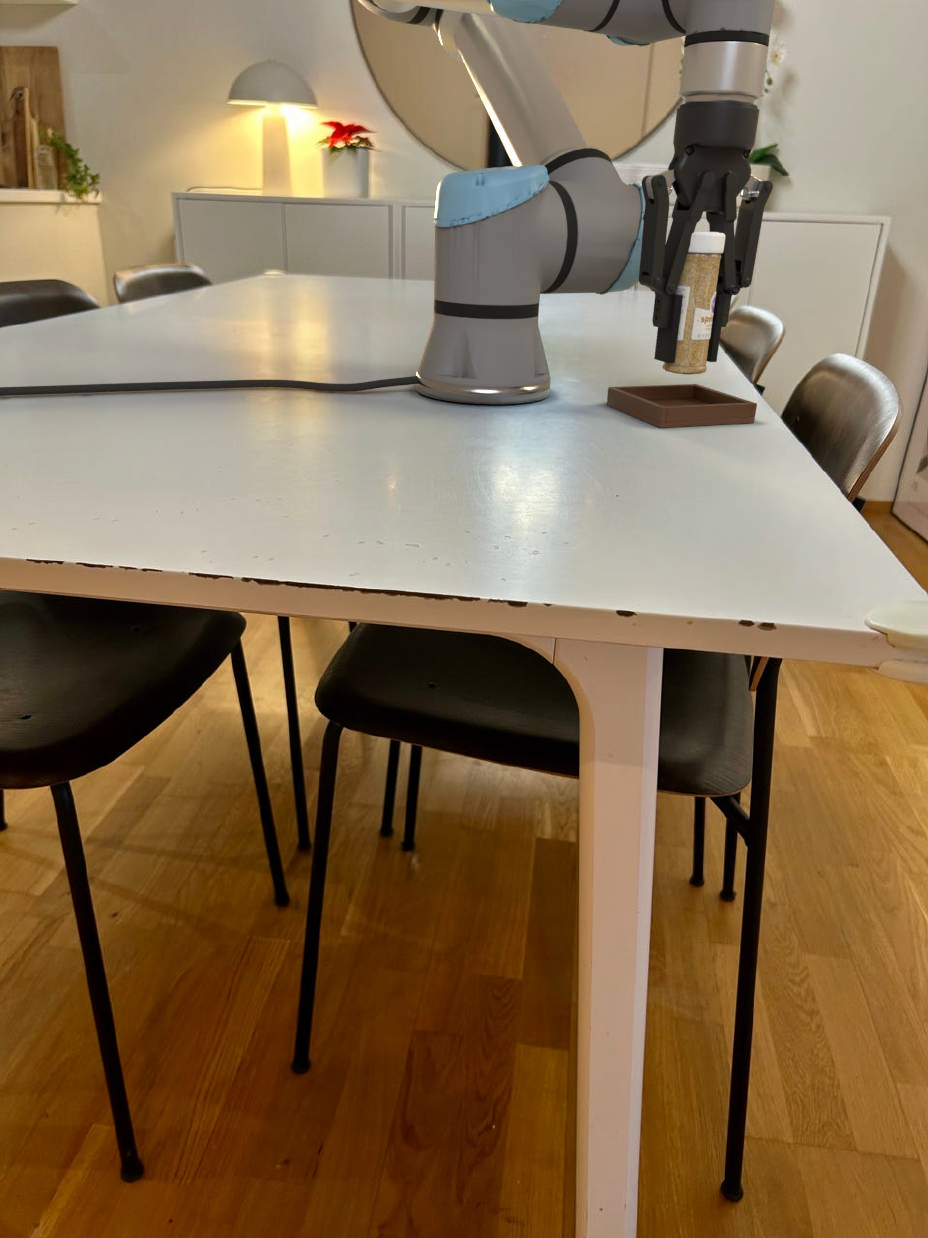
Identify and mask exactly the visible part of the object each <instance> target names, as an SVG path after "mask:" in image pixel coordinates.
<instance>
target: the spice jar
mask: <svg viewBox="0 0 928 1238" xmlns="http://www.w3.org/2000/svg"><path fill="white" fill-rule="evenodd" d="M724 244H725V234H724V233H719V232H710V231H703V230H702V231H701V230H700V231H699V230H695V231H694V233H693V234H692V236H691V242H690V247H689V250H688V254H687V257H686V260H685V264H684V267H683V270H682V273H681V277H680V280H679V283H678V287H677V290H676V292H675V293H674V294H677V295H683V299H682V307H681V315H680V323H679V331H678V339H677V347H676V355H675V363H666V362H663V364H662V369H663V370H664V371H666V372H668V373H673V374H677V375H689V376H690V375H699V374H703V373H706V372H707V370H708V366H707V362H708V361H707V354H708V346H709V339H710V336H711V328H712V321H713V314H714V306H715V298H716V287H717V281H718V273H719V265H720V259H721V254H722V253H723V251H724Z"/></svg>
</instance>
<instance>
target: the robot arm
mask: <svg viewBox="0 0 928 1238" xmlns="http://www.w3.org/2000/svg"><path fill="white" fill-rule="evenodd" d="M357 1H358V2H359V3H360V4H361V5H362V6H364V8H365V9H367V10H368V11H370V12H371V13H373V14H375V15H377V16H378V17H380V18H383V19H385V20H388V21H391V22H395V23H401V24H407V25H414V26H420V27H426V28H431V29H433V30H434V31H435V33H436V35H437V38H438V40H439V41H440V44H441V46H442V48H443V49H444V51H445V52H446V53H447V55H448V56H450V57H451V58H452V59H454V60H456V61H458V62H462V63H463V64H464V65H465V68H466V70H467V73H468V74H469V76H470V78H471V80H472V83H473V85H474V87H475V88H476V91H477V93H478V95H479V97H480V99H481V102H482V104H483V105H484V107H485V108H484V109H486V112H487V114H488V116H489V118H490V120H491V122H492V125H493V126H494V129H495V131H496V133H497V134H498V138H499V139H500V141H501V143H502V146H503V147H504V150H505V152H506V154H507V156H508V157H509V160H510V162H511V164H512V165H510V166H502V167H501V166H500V167H486V168H478V169H477V168H476V169H467V170H459V171H455V172H451V173H448V174H445V176H443V177H442V178H441V179H440V181H439V183H438V185H437V189H436V197H435V198H436V199H435V207H434V216H433V225H434V261H433V262H434V267H433V268H434V269H433V270H434V271H433V272H434V274H433V275H434V276H433V319H432V324H431V326H430V331H429V334H428V337H427V340H426V342H425V346H424V348H423V352H422V355H421V358H420V361H419V364H418V367H417V371H416V375H413V376H402V377H393V378H385V379H377V380H371V381H363V382H356V383H329V382H317V381H306V380H294V379H229V380H228V379H225V380H223V379H222V380H221V379H220V380H188V381H186V380H185V381H183V380H182V381H157V382H156V381H150V382H148V381H147V382H119V383H91V384H89V383H88V384H61V385H59V384H58V385H57V384H56V385H29V386H27V385H26V386H25V385H24V386H0V397H8V396H11V397H13V396H39V395H67V394H68V395H69V394H94V393H97V394H98V393H122V392H123V393H124V392H151V391H155V392H156V391H183V390H185V391H186V390H216V389H217V390H221V389H247V388H248V389H249V388H251V389H252V388H273V389H274V388H275V389H278V388H280V389H281V388H283V389H296V390H297V389H299V390H307V391H319V392H335V393H336V392H337V393H339V392H340V393H346V392H347V393H348V392H350V393H351V392H361V391H369V390H375V389H383V388H393V387H400V386H409V385H411V386H412V385H415V386H416V388H415V389H416V391H417V392H418V394H421V395H423V396H426V397H428V398H432V399H435V400H436V399H437V400H442V401H448V402H455V403H463V404H476V405H477V404H478V405H513V404H525V403H526V404H527V403H533V402H537V401H541V400H544V399H546V398H548V397H549V396H550V393H551V380H552V379H551V373H550V369H549V365H548V361H547V356H546V352H545V349H544V343H543V340H542V336H541V332H540V327H539V314H540V301H541V295H556V294H558V295H559V294H596V295H601V296H602V295H606V294H608V293H616V292H625V291H627V290H629V289H631V288H633V287H634V286H635V285H636V284H638V283H639V284H640V285H641V286H644V287H646V288H649V289H650V291H651V292H653V293H654V303H653V311H652V320H651V321H652V326H653V327H656V328H657V332H656V339H655V340H656V341H655V349H654V358H653V359H654V360H655V361H660V362H663V363H665V362H666V363H675V355H676V347H677V339H678V331H679V323H680V315H681V307H682V299H683V295H677V294H674V293H675V292H676V290H677V287H678V283H679V280H680V277H681V273H682V270H683V267H684V264H685V260H686V257H687V254H688V250H689V247H690V242H691V236H692V234H693V233H694V231H696V227H697V224H698V223H699V222H701V220H702V217H703V214H704V213H705V218H706V222H707V223H708V226H709V229H708V230H709V232H719V233H724V234H725V244H724V251H723V253H722V254H721V259H720V265H719V273H718V281H717V287H716V298H715V306H714V314H713V321H712V328H711V336H710V339H709V346H708V354H707V362H709V363H717V362H718V355H719V354H718V353H719V347H720V340H721V333H722V328H726V327H727V325H728V322H729V316H730V311H731V310H730V309H731V304H732V303H731V302H732V298H733V296H737V295H739V293H740V291H741V289H747V288H749V287H750V286H751V285H752V283H753V282H752V281H753V275H754V271H755V264H756V258H757V253H758V252H757V251H758V246H759V241H760V235H761V229H762V223H763V218H764V211H765V206H766V205H767V202H768V200H769V197H770V196H771V193H772V191H773V188H774V184H773V182H772V181H771V180H762V179H760V178H758V177H756V176H755V175H753V174H752V167H751V164H750V163H751V162H750V155H751V152H752V149H753V148H754V147H755V145H756V144H755V143H756V138H757V129H758V124H759V116H760V109H759V107H758V105H756V104H755V101H756V100H759V99H760V98H761V97H762V96H763V93H764V92H763V91H764V84H765V77H766V71H767V63H768V62H767V61H768V54H769V45H770V37H771V29H772V23H773V17H774V9H775V4H776V0H357ZM527 24H528V25H540V26H548V27H556V28H564V29H571V30H577V31H583V32H587V33H593V34H599V35H605V36H606V38H607V39H609V41H611V43H613V44H615V45H617V46H622V47H629V46H638V47H646V46H649V45H650V46H651V44H655V43H657V42H658V43H659V42H663V41H668V40H672V39H678V38H683V37H684V42H683V56H682V66H681V73H680V82H679V83H680V84H679V91H678V95H679V97H680V98H681V99H682V100H684V103H681V104H680V105H679V106H678V107H677V108H676V113H675V114H676V115H675V122H674V123H675V125H674V132H673V140H672V145H673V148H674V149H673V150H674V152H673V157H672V158H671V161H670V163H669V165H668V167H667V170H664V171H661V172H660V173H656V174H652V175H651V174H650V175H645V176H643V177H642V179H641V185H640V184H639V183H635V182H631V183H629V184H627V183H625V182H624V181H623V180H622V178H621V176H620V174H619V173H618V170H617V169H616V167H615V165H614V164H613V161H612V159H611V158H610V156H609V155H608V154H607V152H606V151H604V150H603V149H601V148H599V147H596V146H592V145H588V143H587V141H586V139H585V137H584V135H583V133H582V132H581V129H580V128H579V126H578V124H577V121H576V119H575V117H574V116H573V113H572V111H571V110H570V107H569V106H568V103H567V102H566V100H565V98H564V96H563V94H562V92H561V90H560V89H559V87H558V84H557V82H556V80H555V78H554V76H553V74H552V72H551V71H550V68H549V66H548V65H547V63H546V60H545V59H544V57H543V55H542V53H541V51H540V49H539V47H538V45H537V43H536V42H535V39H534V37H533V35H532V33H531V31H530V29H529V27H528V25H527ZM673 192H674V193H675V196H676V198H675V201H674V206H673V209H672V212H671V219H672V222H671V225H670V228H669V231H668V224H669V214H670V213H669V212H670V195H671V194H672V193H673ZM738 196H739V197H740V198H741V201H740V204H739V207H738V204H737V203H738V202H737V198H738ZM737 207H738V208H737ZM735 221H736V223H735ZM667 234H668V236H667Z"/></svg>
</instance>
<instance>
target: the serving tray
mask: <svg viewBox="0 0 928 1238" xmlns="http://www.w3.org/2000/svg"><path fill="white" fill-rule="evenodd" d="M606 407H610V408H612V409H614V410H617V411H619V412H622V413H623V414H625V415H628V416H631V417H633V418H636V419H638V420H641V421H643V422H646V423H647V424H651V425H652V426H655V427H657V428H660V429H662V428H663V429H664V428H683V427H700V426H702V427H705V426H717V425H718V426H719V425H720V426H723V425H740V424H754V423H755V420H756V419H755V418H756V412H757V407H758V403H757V402H754V401H751V400H748V399H744V398H741V397H738V396H734V395H731V394H729V393H726V392H723V391H720V390H716V389H714V388H710V387H707V386H704V385H700V384H698V383H685V384H684V383H683V384H657V385H653V384H652V385H629V386H628V385H627V386H608V387H607V396H606Z"/></svg>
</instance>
